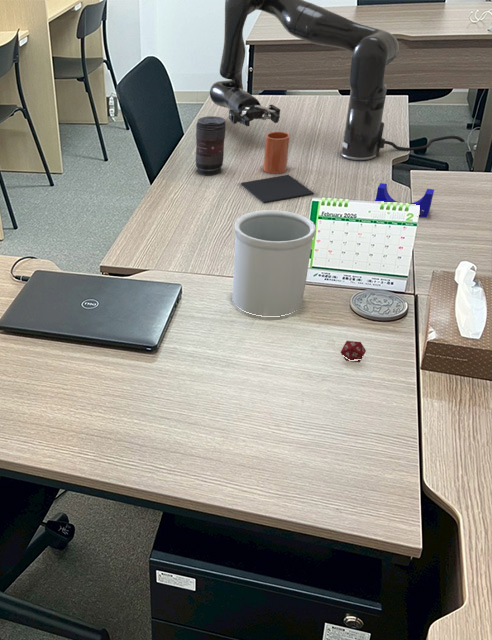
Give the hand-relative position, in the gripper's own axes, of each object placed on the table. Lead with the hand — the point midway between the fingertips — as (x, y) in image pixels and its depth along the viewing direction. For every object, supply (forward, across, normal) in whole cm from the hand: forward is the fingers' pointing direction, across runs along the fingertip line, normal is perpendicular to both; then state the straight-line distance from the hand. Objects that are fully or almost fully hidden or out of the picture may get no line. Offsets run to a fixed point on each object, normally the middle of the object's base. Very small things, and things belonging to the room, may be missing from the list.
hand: (262, 121), depth 206 cm
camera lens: (+6, -17, +11) cm, 21 cm away
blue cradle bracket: (+48, +17, +10) cm, 52 cm away
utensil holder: (+79, -28, +10) cm, 84 cm away
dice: (+102, -21, +10) cm, 104 cm away
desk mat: (+25, -5, +10) cm, 27 cm away
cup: (+11, 0, +11) cm, 15 cm away
